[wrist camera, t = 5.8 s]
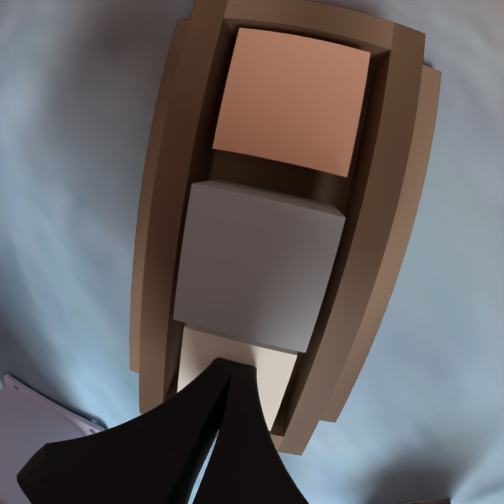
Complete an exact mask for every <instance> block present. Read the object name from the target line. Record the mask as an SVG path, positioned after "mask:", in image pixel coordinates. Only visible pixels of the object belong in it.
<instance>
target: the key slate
mask: <svg viewBox="0 0 504 504" xmlns="http://www.w3.org/2000/svg"><path fill="white" fill-rule="evenodd" d="M345 219H346V218H345V216H344V215H343V214H342V213H341V212H340V211H339V210H338V209H337V208H336V207H335V206H334V205H331V204H327V203H323V202H319V201H315V200H311V199H306V198H302V197H298V196H294V195H289V194H285V193H281V192H276V191H272V190H267V189H262V188H258V187H253V186H248V185H243V184H239V183H234V182H229V181H224V180H219V179H215V180H209V181H204V182H198V183H192V185H191V191H190V197H189V203H188V210H187V216H186V222H185V229H184V236H183V243H182V250H181V257H180V265H179V272H178V280H177V288H176V297H175V306H174V315H173V319H174V320H177V321H180V322H184V323H187V324H191V325H194V326H198V327H201V328H205V329H209V330H212V331H216V332H220V333H224V334H227V335H231V336H235V337H239V338H243V339H247V340H251V341H255V342H259V343H264V344H268V345H272V346H277V347H281V348H285V349H290V350H295V351H299V352H304V353H306V350H307V347H308V344H309V341H310V338H311V335H312V332H313V329H314V326H315V323H316V320H317V317H318V314H319V310H320V307H321V304H322V301H323V297H324V294H325V291H326V287H327V284H328V281H329V277H330V274H331V270H332V267H333V263H334V260H335V256H336V253H337V249H338V245H339V242H340V238H341V234H342V230H343V226H344V222H345Z"/></svg>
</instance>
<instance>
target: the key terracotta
mask: <svg viewBox="0 0 504 504" xmlns="http://www.w3.org/2000/svg"><path fill="white" fill-rule="evenodd" d="M369 59H370V53H369V52H366V51H362V50H359V49H355V48H351V47H348V46H344V45H340V44H335V43H331V42H327V41H322V40H318V39H313V38H308V37H302V36H297V35H291V34H285V33H279V32H272V31H264V30H256V29H247V28H239V32H238V36H237V40H236V44H235V48H234V52H233V56H232V60H231V64H230V69H229V73H228V77H227V81H226V86H225V90H224V95H223V99H222V104H221V108H220V113H219V118H218V123H217V127H216V132H215V137H214V142H213V147H212V148H213V149H218V150H223V151H228V152H233V153H239V154H244V155H249V156H254V157H259V158H264V159H269V160H274V161H279V162H283V163H288V164H292V165H297V166H301V167H305V168H310V169H314V170H318V171H322V172H326V173H330V174H334V175H339V176H343V177H347V175H348V171H349V166H350V162H351V157H352V153H353V148H354V143H355V138H356V133H357V128H358V123H359V118H360V112H361V107H362V102H363V96H364V90H365V84H366V78H367V72H368V66H369Z"/></svg>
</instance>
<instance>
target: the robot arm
mask: <svg viewBox="0 0 504 504" xmlns="http://www.w3.org/2000/svg"><path fill="white" fill-rule="evenodd" d="M4 381H5V384H6V385H5V386H4V387H3V388H2V389H1V390H0V504H188V501H189V498H190V495H191V492H192V489H193V486H194V484H195V482H196V479H197V477H198V474H199V472H200V470H201V468H202V466H203V464H204V461H205V459H206V457H207V455H208V453H209V450H210V448H211V446H212V444H213V442H214V439H215V437H216V435H217V433H218V430H219V433H218V437H217V440H216V443H215V446H214V449H213V451H212V454H211V457H210V460H209V462H208V465H207V468H206V470H205V473H204V476H203V478H202V481H201V483H200V486H199V489H198V491H197V494H196V496H195V498H194V501H193V503H192V504H309V503H308V502H307V500H306V499H305V498H304V496H303V495H302V494H301V492H300V491H299V489H298V488H297V486H296V484H295V483H294V481H293V480H292V478H291V476H290V475H289V473H288V472H287V470H286V468H285V466H284V464H283V462H282V460H281V458H280V457H279V454H278V452H277V450H276V448H275V446H274V443H273V441H272V438H271V436H270V433H269V430H268V427H267V424H266V421H265V418H264V414H263V410H262V406H261V402H260V398H259V392H258V386H257V369H256V368H255V366H251V365H247V364H243V363H239V362H235V361H231V360H227V359H224V358H220V357H217V358H215V359H214V360H213V361H212V362H211V363H210V364H209V366H208V367H207V368H206V369H205V370H204V371H203V372H201V373H200V374H199V375H198V376H197V377H196V378H195V379H194V380H192V381H191V382H190V383H189V384H188V385H186V386H185V387H184V388H183V389H181V390H180V391H179V392H177V393H176V394H175V395H173V396H172V397H170V398H169V399H167V400H166V401H165V402H163V403H161V404H160V405H158V406H157V407H155V408H153V409H152V410H150V411H148V412H146V413H144V414H142V415H140V416H138V417H136V418H134V419H132V420H130V421H128V422H125V423H123V424H121V425H118V426H116V427H113V428H110V429H107V430H105V429H104V428H103V427H101V426H99V425H97V424H95V423H93V422H90V421H88V420H86V419H84V418H82V417H80V416H78V415H76V414H74V413H72V412H71V411H69V410H67V409H65V408H63V407H61V406H59V405H58V404H56V403H54V402H52V401H50V400H49V399H47V398H45V397H44V396H42V395H40V394H38V393H37V392H35V391H34V390H32V389H30V388H29V387H27V386H25V385H24V384H22V383H21V382H19V381H18V380H16V379H15V378H13V377H12V376H10V375H8V374H6V375H5V376H4Z"/></svg>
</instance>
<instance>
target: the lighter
mask: <svg viewBox="0 0 504 504" xmlns="http://www.w3.org/2000/svg"><path fill="white" fill-rule="evenodd" d="M404 504H451V503H450V500H449V499H441V500H428V501H418V502H410V503H404Z"/></svg>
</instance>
